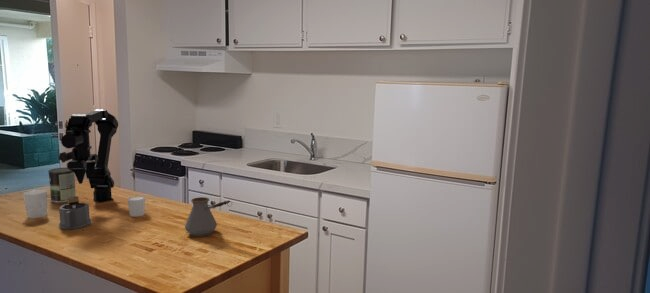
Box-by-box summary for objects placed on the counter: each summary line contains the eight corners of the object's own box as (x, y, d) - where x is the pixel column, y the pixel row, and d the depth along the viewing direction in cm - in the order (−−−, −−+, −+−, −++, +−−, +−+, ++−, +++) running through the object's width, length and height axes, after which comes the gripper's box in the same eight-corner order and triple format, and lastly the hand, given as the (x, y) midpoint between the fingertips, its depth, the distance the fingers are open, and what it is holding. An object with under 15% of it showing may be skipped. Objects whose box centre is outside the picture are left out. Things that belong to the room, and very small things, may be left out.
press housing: (65, 220, 175) (64, 202, 174) (95, 219, 177) (94, 201, 176) (51, 231, 162) (50, 212, 161) (84, 230, 164) (82, 211, 163)
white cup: (52, 214, 182) (50, 191, 181) (33, 220, 175) (31, 195, 174) (40, 211, 186) (38, 188, 184) (21, 217, 178) (19, 193, 177)
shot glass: (124, 215, 182) (123, 199, 181) (137, 211, 189) (136, 195, 187) (137, 217, 180) (136, 201, 179) (149, 213, 186) (149, 197, 185)
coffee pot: (178, 234, 163) (177, 194, 160) (202, 225, 172) (201, 188, 170) (219, 247, 151) (218, 204, 149) (242, 237, 160) (242, 197, 158)
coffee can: (47, 203, 198) (45, 172, 195) (54, 197, 207) (51, 168, 205) (73, 201, 201) (71, 171, 198) (78, 195, 210) (76, 167, 208)
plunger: (68, 215, 173) (67, 195, 171) (87, 215, 174) (86, 194, 173) (61, 221, 166) (60, 200, 165) (81, 220, 167) (79, 199, 166)
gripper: (69, 141, 191) (72, 176, 194) (51, 148, 173) (54, 187, 176) (97, 141, 193) (99, 175, 196) (81, 148, 175) (84, 186, 177)
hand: (84, 181), depth 186 cm, fingers open, 9 cm apart
